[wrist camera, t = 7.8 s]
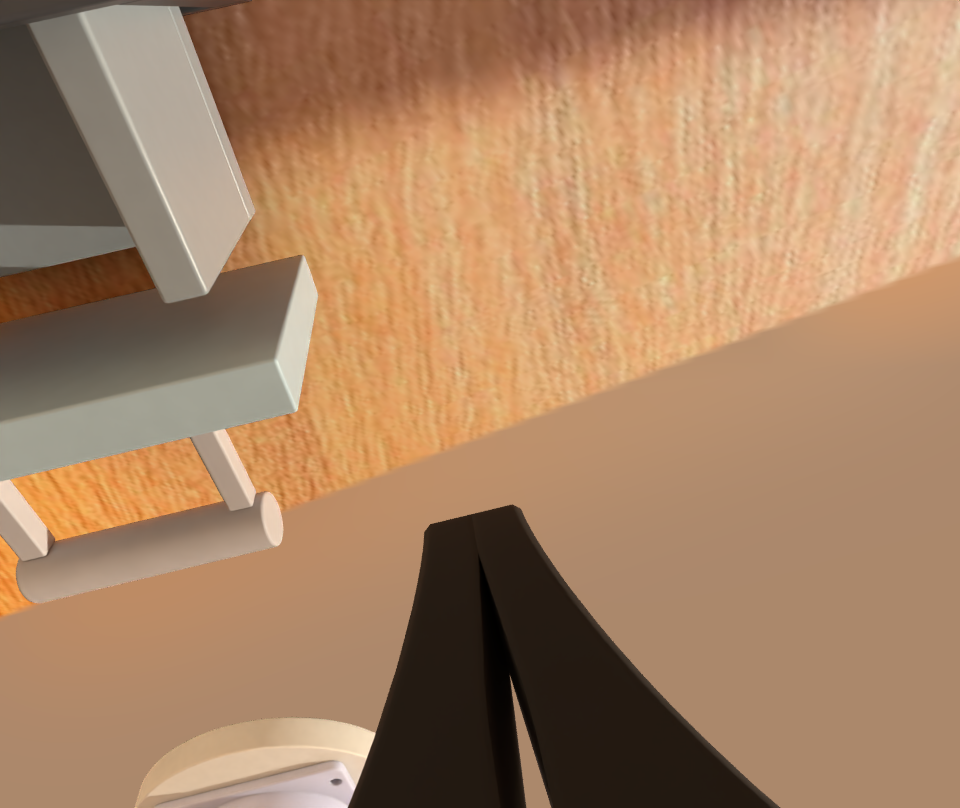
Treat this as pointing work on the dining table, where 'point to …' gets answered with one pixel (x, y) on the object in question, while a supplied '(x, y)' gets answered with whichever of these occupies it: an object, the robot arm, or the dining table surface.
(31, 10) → the box
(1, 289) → the dining table surface
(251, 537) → the tray
